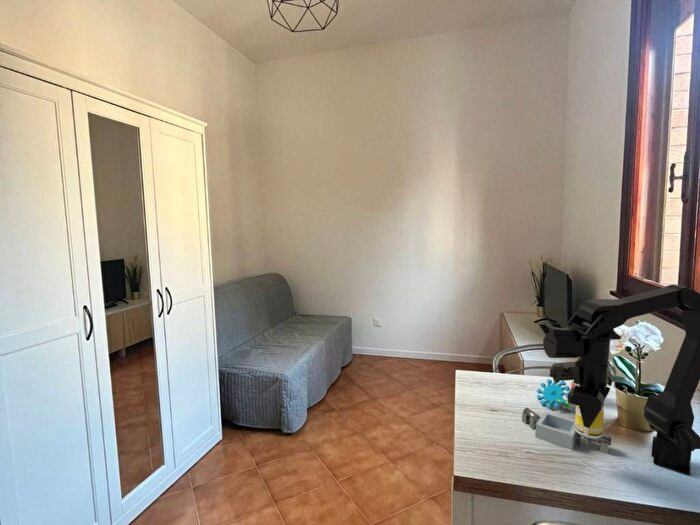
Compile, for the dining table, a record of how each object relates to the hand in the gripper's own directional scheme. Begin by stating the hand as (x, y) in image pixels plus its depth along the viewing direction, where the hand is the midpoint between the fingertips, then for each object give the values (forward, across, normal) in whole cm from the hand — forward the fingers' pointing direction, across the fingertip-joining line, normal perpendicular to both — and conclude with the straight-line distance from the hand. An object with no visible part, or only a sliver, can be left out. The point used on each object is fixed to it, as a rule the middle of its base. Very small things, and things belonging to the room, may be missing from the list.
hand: (589, 421), depth 87 cm
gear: (+11, -25, -13) cm, 30 cm away
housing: (+10, -8, -8) cm, 15 cm away
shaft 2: (+10, -9, 0) cm, 14 cm away
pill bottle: (+11, -35, -7) cm, 37 cm away
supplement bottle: (+3, 0, 0) cm, 3 cm away
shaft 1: (+10, -10, -14) cm, 20 cm away
